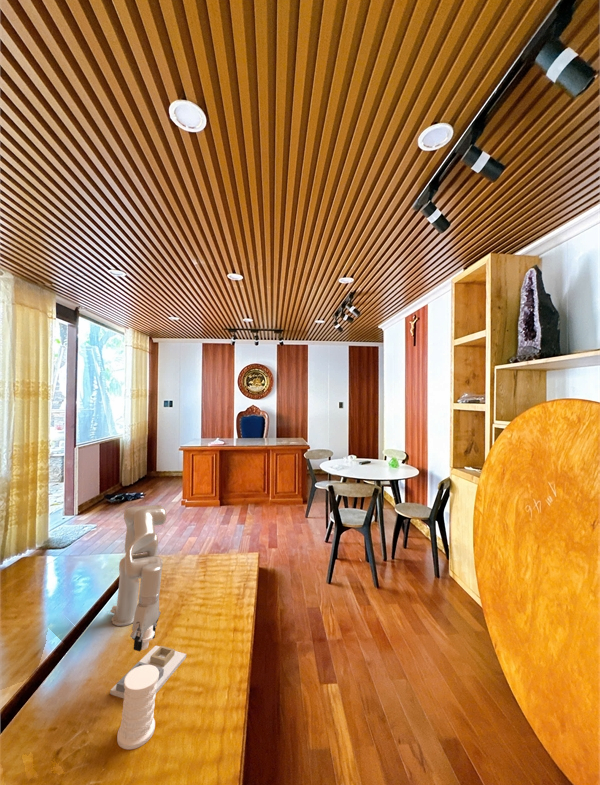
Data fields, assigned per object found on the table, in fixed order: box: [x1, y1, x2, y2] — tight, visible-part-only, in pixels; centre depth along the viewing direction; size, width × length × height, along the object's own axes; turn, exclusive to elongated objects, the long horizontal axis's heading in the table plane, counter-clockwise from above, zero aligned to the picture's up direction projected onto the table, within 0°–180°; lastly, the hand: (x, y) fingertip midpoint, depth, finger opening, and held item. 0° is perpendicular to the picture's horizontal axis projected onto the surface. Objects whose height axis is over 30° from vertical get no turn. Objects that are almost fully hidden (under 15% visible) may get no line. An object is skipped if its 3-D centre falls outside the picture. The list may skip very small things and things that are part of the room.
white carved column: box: [116, 665, 159, 750], centre depth 113 cm, size 12×12×18 cm
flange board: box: [109, 645, 187, 700], centre depth 137 cm, size 16×26×4 cm, turn 166°
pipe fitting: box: [137, 625, 156, 651], centre depth 132 cm, size 6×7×8 cm
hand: (144, 643), depth 131 cm, fingers closed on pipe fitting, 7 cm apart
